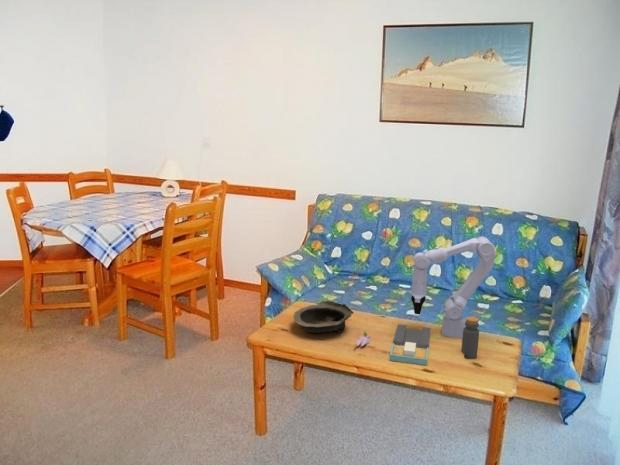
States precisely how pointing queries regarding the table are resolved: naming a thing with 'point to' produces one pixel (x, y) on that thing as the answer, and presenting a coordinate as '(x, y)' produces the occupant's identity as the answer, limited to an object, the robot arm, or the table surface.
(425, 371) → the table surface
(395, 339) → the slotted plate
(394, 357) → the tray
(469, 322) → the bottle
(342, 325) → the stone bowl
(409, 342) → the cream cube block
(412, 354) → the beige cube
